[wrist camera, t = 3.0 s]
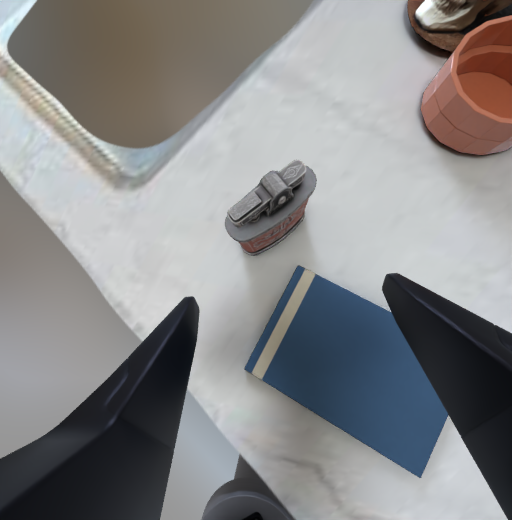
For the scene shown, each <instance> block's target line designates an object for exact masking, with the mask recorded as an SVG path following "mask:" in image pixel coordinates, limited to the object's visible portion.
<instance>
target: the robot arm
mask: <svg viewBox="0 0 512 520" xmlns="http://www.w3.org/2000/svg"><path fill="white" fill-rule="evenodd" d="M382 290H383V293H384V296H385V298H386V300H387V303H388V305H389V307H390V310H391V312H392V314H393V317H394V319H395V321H396V323H397V325H398V327H399V329H400V330H401V332H402V334H403V336H404V337H405V339H406V341H407V343H408V344H409V346H410V348H411V350H412V351H413V353H414V355H415V357H416V358H417V360H418V362H419V364H420V365H421V367H422V369H423V371H424V372H425V374H426V376H427V378H428V379H429V381H430V383H431V385H432V386H433V388H434V390H435V392H436V394H437V395H438V397H439V399H440V401H441V402H442V404H443V406H444V408H445V409H446V411H447V413H448V415H449V416H450V418H451V420H452V422H453V423H454V425H455V427H456V429H457V430H458V432H459V434H460V435H461V438H462V440H463V441H464V443H465V445H466V447H467V448H468V450H469V452H470V454H471V455H472V457H473V459H474V461H475V462H476V464H477V466H478V468H479V469H480V471H481V473H482V475H483V476H484V478H485V480H486V482H487V483H488V485H489V487H490V489H491V490H492V492H493V494H494V496H495V497H496V499H497V501H498V503H499V505H500V506H501V508H502V510H503V512H504V513H505V515H506V517H507V519H508V520H512V333H510V332H508V331H506V330H504V329H502V328H500V327H498V326H497V325H494V324H493V323H491V322H489V321H487V320H485V319H483V318H481V317H479V316H478V315H476V314H474V313H472V312H470V311H468V310H466V309H464V308H462V307H461V306H459V305H457V304H455V303H453V302H451V301H449V300H447V299H445V298H443V297H442V296H440V295H438V294H436V293H434V292H432V291H430V290H428V289H426V288H425V287H423V286H421V285H419V284H417V283H415V282H413V281H411V280H409V279H408V278H406V277H404V276H402V275H400V274H398V273H391V274H387V275H386V276H385V280H384V283H383V286H382ZM198 322H199V306H198V304H197V302H196V300H195V298H194V297H192V296H191V297H185V298H184V299H183V300H182V301H181V302H180V303H179V304H178V305H177V306H176V307H175V308H174V309H173V310H172V311H171V312H170V313H169V314H168V316H167V317H166V318H165V319H164V320H163V321H162V322H161V323H160V324H159V325H158V326H157V327H156V328H155V329H154V330H153V331H152V333H151V334H150V335H149V336H148V337H147V338H146V339H145V340H144V341H143V342H142V343H141V344H140V345H139V346H138V347H137V348H136V350H135V351H134V352H133V353H132V354H131V355H130V356H129V357H128V359H126V360H125V361H124V362H123V363H122V364H121V366H119V367H118V369H117V370H116V371H115V372H114V373H113V374H112V375H111V376H110V377H109V378H108V379H107V380H106V381H105V382H104V383H103V384H102V385H101V386H99V387H98V388H97V389H96V390H95V391H94V392H93V393H92V394H91V395H90V396H89V397H88V398H87V399H86V400H85V401H84V402H82V403H81V404H80V405H79V406H78V407H77V408H76V409H75V410H74V411H73V412H72V413H71V414H70V415H69V416H68V417H66V418H65V419H64V420H63V421H62V422H61V423H60V424H59V425H58V426H56V427H55V428H54V429H52V430H51V431H50V432H48V433H47V434H45V435H44V436H42V437H41V438H39V439H37V440H35V441H33V442H32V443H30V444H28V445H26V446H24V447H22V448H20V449H18V450H16V451H14V452H12V453H10V454H9V455H7V456H5V457H3V458H1V459H0V520H160V516H161V511H162V507H163V502H164V496H165V492H166V487H167V482H168V477H169V473H170V468H171V463H172V458H173V453H174V448H175V443H176V439H177V433H178V429H179V424H180V419H181V414H182V410H183V405H184V400H185V395H186V390H187V386H188V381H189V376H190V371H191V366H192V362H193V357H194V352H195V347H196V342H197V333H198ZM255 519H258V520H263V518H262V516H261V514H260V513H259V512H254V513H252V514H251V515H249V516H247V517H246V518H244V519H242V520H255Z"/></svg>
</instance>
